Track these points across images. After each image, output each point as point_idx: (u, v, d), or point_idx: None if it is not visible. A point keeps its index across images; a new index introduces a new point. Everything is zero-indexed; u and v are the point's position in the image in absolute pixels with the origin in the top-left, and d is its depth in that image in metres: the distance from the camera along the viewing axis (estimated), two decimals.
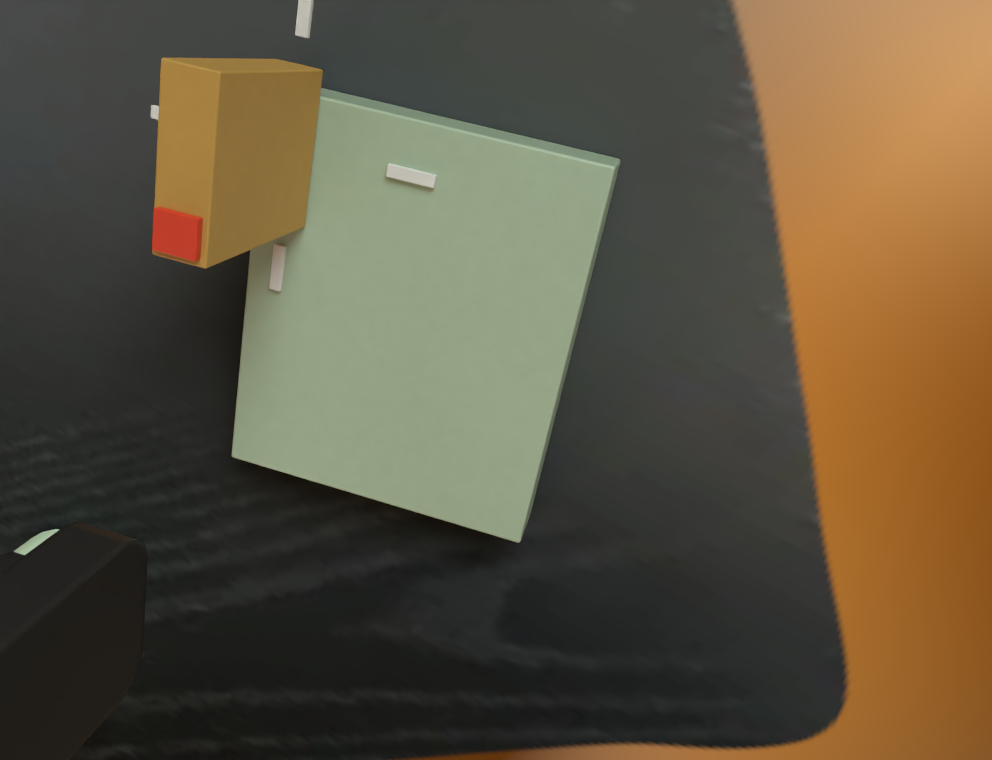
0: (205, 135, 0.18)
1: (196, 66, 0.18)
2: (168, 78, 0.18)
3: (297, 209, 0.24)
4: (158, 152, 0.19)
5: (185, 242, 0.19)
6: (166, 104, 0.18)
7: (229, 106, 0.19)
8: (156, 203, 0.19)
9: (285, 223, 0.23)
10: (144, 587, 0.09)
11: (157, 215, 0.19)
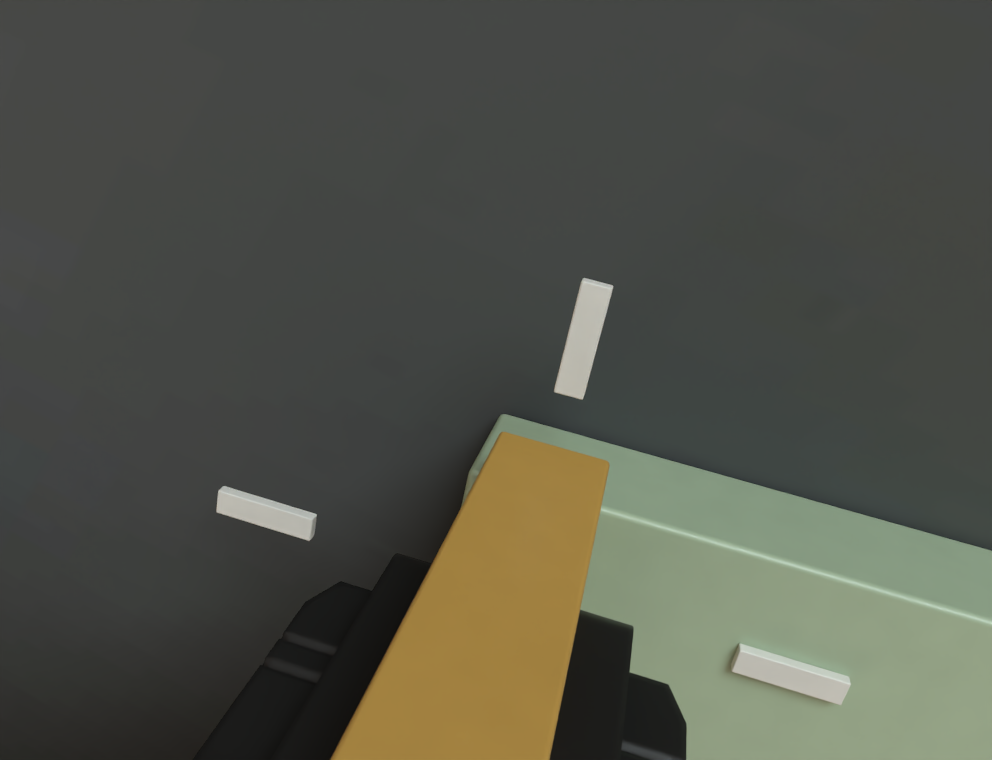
0: None
1: None
2: None
3: None
4: None
5: None
6: None
7: None
8: None
9: None
10: None
11: None
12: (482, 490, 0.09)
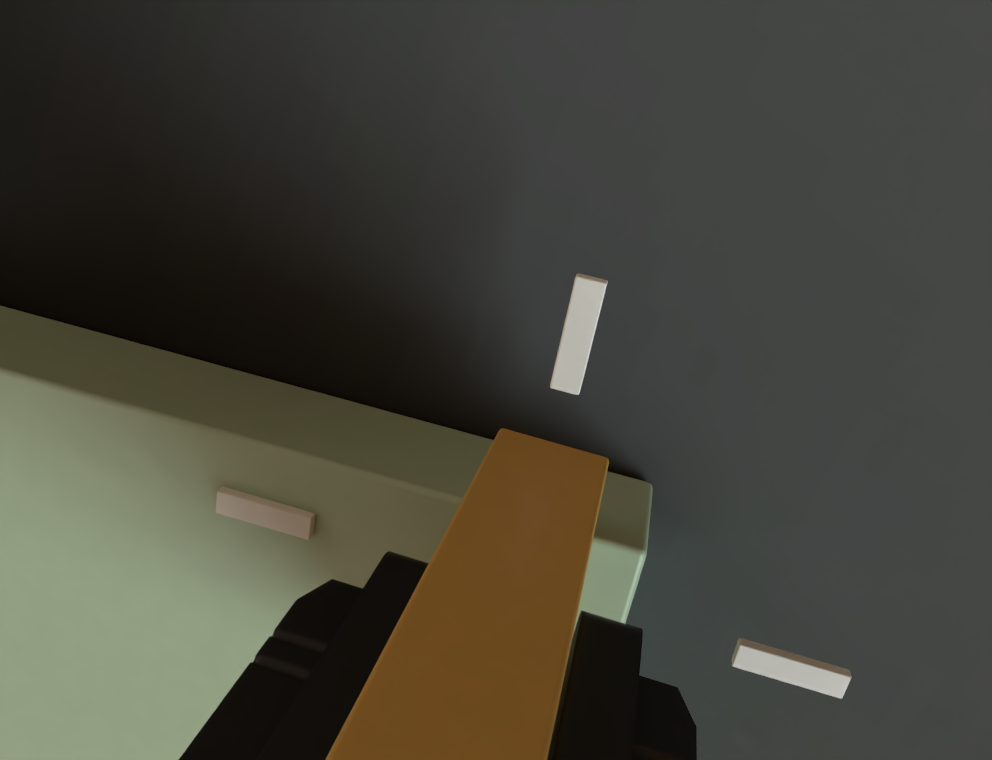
0: None
1: None
2: None
3: None
4: None
5: None
6: None
7: None
8: None
9: None
10: None
11: None
12: (481, 486, 0.09)
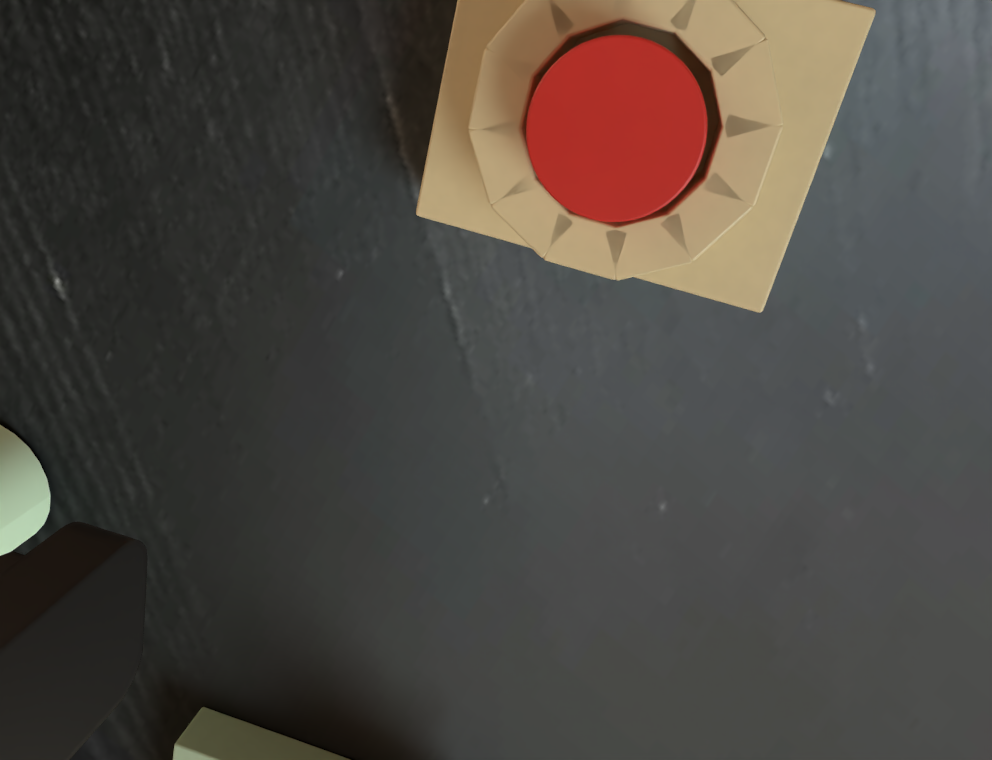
0: None
1: None
2: None
3: None
4: None
5: None
6: None
7: None
8: None
9: None
10: (144, 588, 0.09)
11: None
12: None
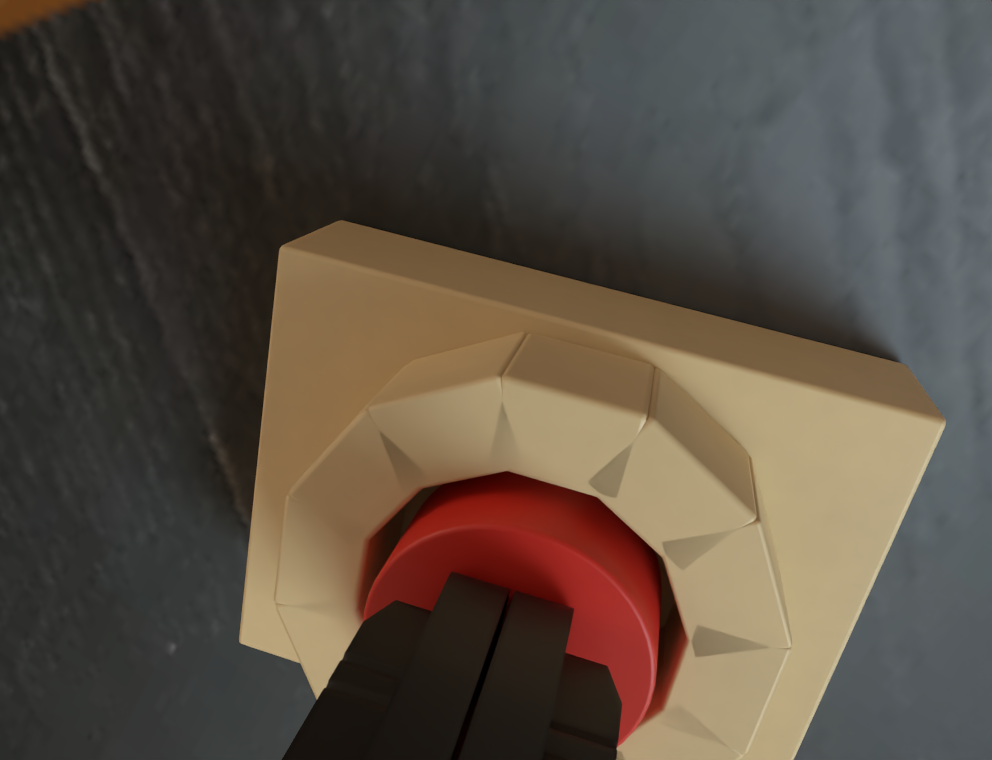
0: None
1: None
2: None
3: None
4: None
5: None
6: None
7: None
8: None
9: None
10: (499, 632, 0.10)
11: None
12: None
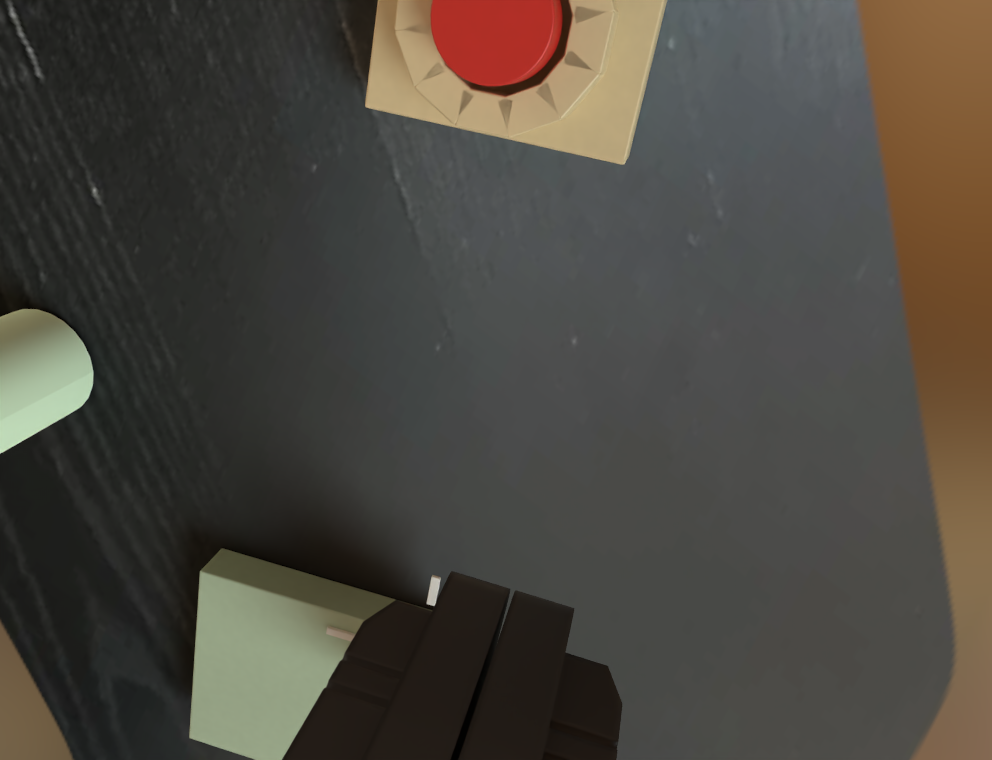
0: None
1: None
2: None
3: None
4: None
5: None
6: None
7: None
8: None
9: None
10: (498, 631, 0.10)
11: None
12: None
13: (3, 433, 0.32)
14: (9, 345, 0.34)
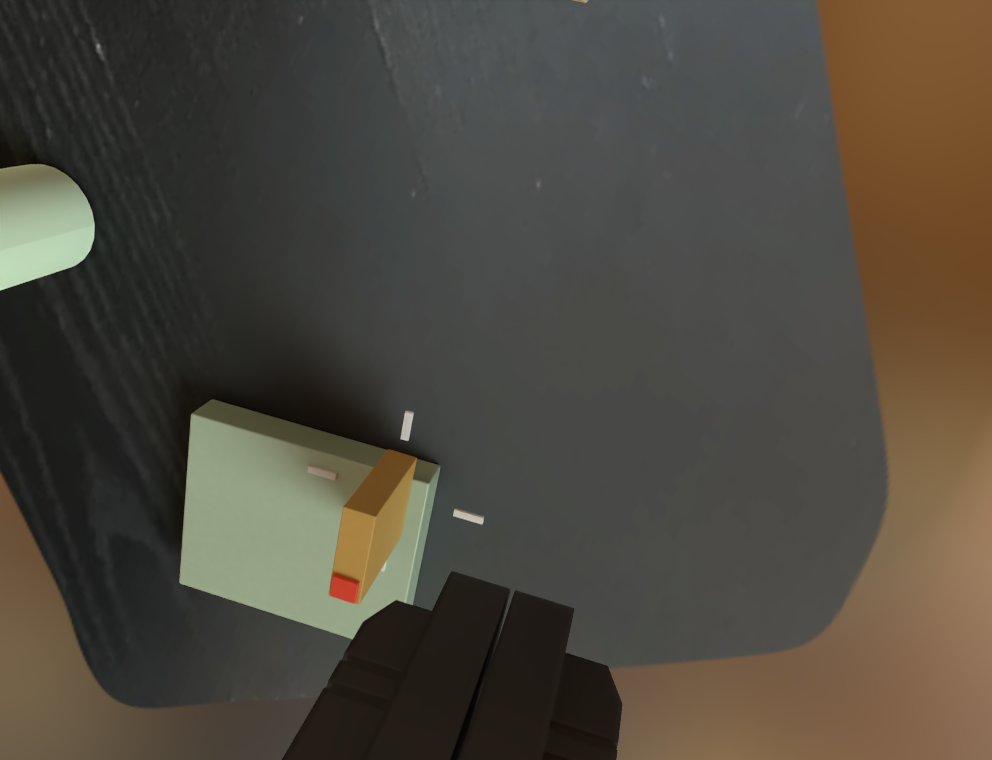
0: (364, 544, 0.34)
1: (362, 512, 0.33)
2: (346, 516, 0.34)
3: (398, 533, 0.39)
4: (337, 548, 0.34)
5: (350, 594, 0.35)
6: (344, 527, 0.34)
7: (377, 525, 0.34)
8: (332, 570, 0.35)
9: (392, 546, 0.39)
10: (499, 631, 0.10)
11: (334, 580, 0.34)
12: (379, 464, 0.37)
13: (10, 262, 0.35)
14: (17, 186, 0.36)
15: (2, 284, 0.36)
